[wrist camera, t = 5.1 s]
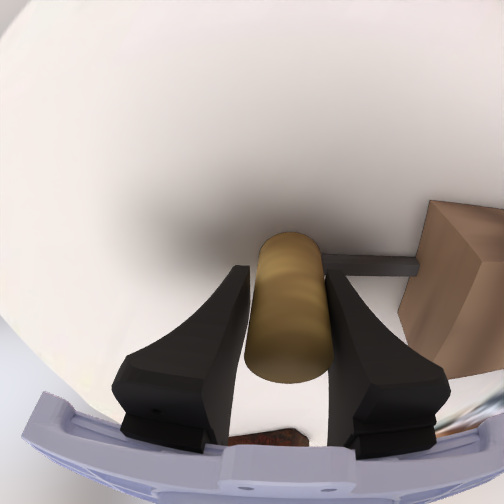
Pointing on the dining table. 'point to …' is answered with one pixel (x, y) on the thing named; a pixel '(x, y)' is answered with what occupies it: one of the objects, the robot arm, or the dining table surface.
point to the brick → (272, 439)
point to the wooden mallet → (411, 308)
